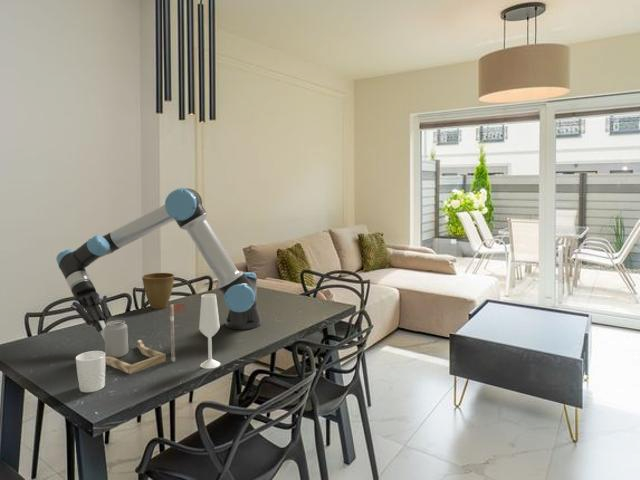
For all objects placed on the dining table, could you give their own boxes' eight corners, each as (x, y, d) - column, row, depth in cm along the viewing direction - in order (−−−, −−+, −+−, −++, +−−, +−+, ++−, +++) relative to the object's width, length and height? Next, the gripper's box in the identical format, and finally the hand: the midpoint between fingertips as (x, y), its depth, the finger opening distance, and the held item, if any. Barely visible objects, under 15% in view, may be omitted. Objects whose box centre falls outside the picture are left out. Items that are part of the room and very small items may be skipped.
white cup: (98, 379, 139) (96, 348, 138) (112, 386, 135) (110, 354, 134) (72, 389, 133) (70, 356, 132) (86, 396, 129) (84, 362, 127)
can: (119, 359, 155) (118, 326, 154) (100, 358, 157) (98, 324, 155) (132, 352, 162) (131, 319, 161) (114, 350, 164) (112, 318, 162)
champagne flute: (222, 360, 155) (220, 293, 152) (218, 368, 149) (216, 298, 146) (202, 360, 155) (200, 293, 152) (198, 368, 148) (196, 298, 145)
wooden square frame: (186, 357, 158) (184, 302, 155) (125, 380, 139) (122, 317, 137) (147, 343, 171) (145, 292, 168) (87, 363, 152) (84, 305, 150)
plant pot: (156, 313, 212) (155, 279, 210) (136, 308, 219) (135, 276, 217) (181, 305, 224) (180, 274, 222) (162, 301, 232) (160, 271, 230)
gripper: (94, 288, 176) (120, 338, 169) (60, 295, 166) (86, 348, 158) (101, 276, 173) (128, 327, 165) (66, 282, 162) (93, 336, 155)
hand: (107, 337), depth 162 cm, fingers closed
